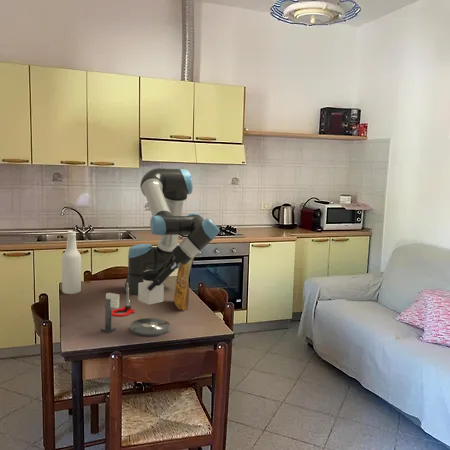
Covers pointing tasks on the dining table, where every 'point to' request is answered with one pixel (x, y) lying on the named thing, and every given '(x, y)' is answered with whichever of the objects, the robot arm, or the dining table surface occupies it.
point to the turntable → (149, 327)
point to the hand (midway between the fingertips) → (142, 291)
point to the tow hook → (126, 308)
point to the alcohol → (71, 266)
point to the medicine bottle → (155, 294)
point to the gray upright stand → (110, 302)
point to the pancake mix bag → (182, 286)
